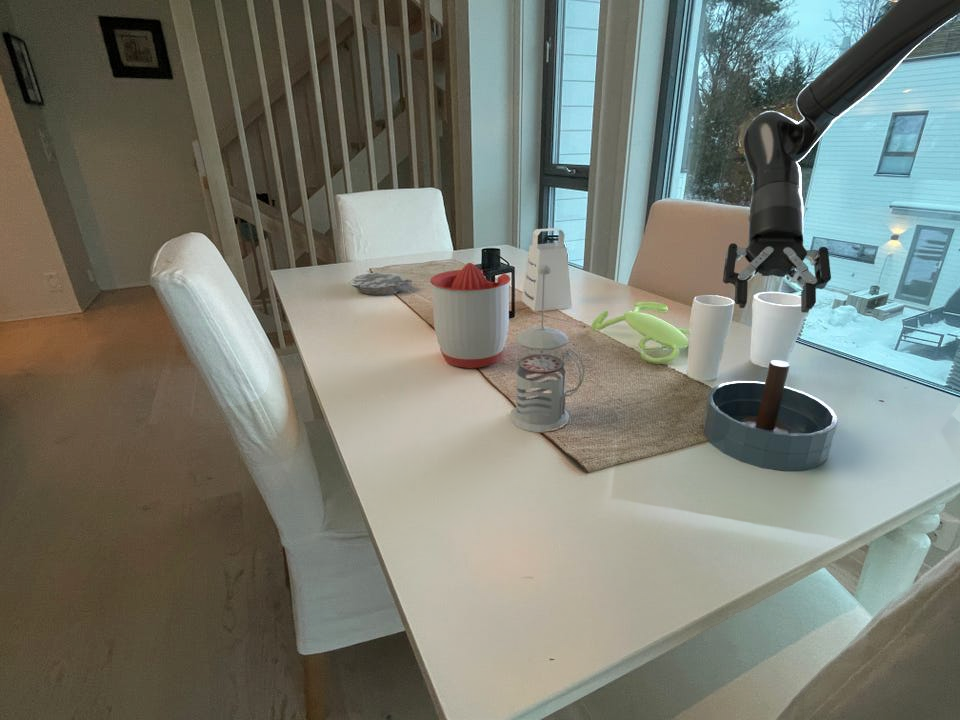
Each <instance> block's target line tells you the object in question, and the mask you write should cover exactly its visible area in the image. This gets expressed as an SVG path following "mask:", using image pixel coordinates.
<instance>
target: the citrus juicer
mask: <svg viewBox="0 0 960 720" xmlns="http://www.w3.org/2000/svg"><path fill="white" fill-rule="evenodd" d="M510 281H511V276H509V275H508V274H506V273H502V274H501V275H500V276H498V277H497V281H496V282H495V281H489V280H488V279H487V278H486V276H485V275H484V272H483V269H479V268H478V266H477V265H475V264H474V263H472V262H467V263H466V264H465V265H464V266H463V267H462V268H461V269H455V270H449V271H448V270H447V271H444V272H440V273H437V274H435V275H433V276H432V277H431V278H430V281H429V282H430V284H431V295H432V296H431V297H432V311H433V312H432V313H433V324H434V332H435V336H436V341H437V343H438V345H439V350H440V353H441V356H442V357H443V359H444V361H445V362H447V363H448V364H450V365H452V366H455V367H459V368H467V369H472V370H473V369H474V370H475V369H479V368H483V367H488V366H490V365H493V364H495V363H497V362H498V361H499V360H500V359H501V357H502V354H503V352H504V350H505V344H506V342H507V338H508V332H509V325H510V324H509V323H510Z"/></svg>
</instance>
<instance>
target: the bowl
mask: <svg viewBox="0 0 960 720" xmlns="http://www.w3.org/2000/svg"><path fill="white" fill-rule="evenodd" d="M764 385H765V382H763V381H753V380H735V381H728V382H724V383H720V384H718V385H716V386H714V387H712V388H711V390H710V391H709V393H708V394H707V397H706V403H705V408H704V415H703V420H702V433H703V435H704V437H705V438H706V440H707V441H708V442H709V443H710V444H711V445H712V446H713V447H715V448H716V449H717V450H718V451H720V452H721V453H723V454H725V455H726V456H729V457H731V458H733V459H735V460H737V461H740V462H741V463H746V464H749V465H751V466H755V467H759V468H762V469H768V470H774V471H780V472H781V471H782V472H783V471H784V472H786V471H787V472H788V471H790V472H792V471H794V472H795V471H797V472H798V471H807V470H811V469H815V468H818V467H820V465H822V464H823V463H824V462H826V461H827V459H828V456H829V453H830V449H831V446H832V444H833V443H832V442H833V439H834V436H835V433H836V429H837V426H838V416H837V414H836V413H835V411H834V410H833V409H832V408H831V407H830V406H829V405H828V404H826V403H825V402H824V401H822V400H821V399H819V398H817V397H815V396H813V395H810V394H809V393H807V392H804V391H802V390H798V389H795V388H792V387H790V386H786V385H785V386H784V391H783V395H782V399H781V403H780V407H779V411H778V415H777V419H776V421H779V422H781V423H782V424H784V425H785V426H786V427H787V428H788V431H789V432H788V433H781V432H773V431H768V430H764V429H760V428H756V427H753V426H749V425H747V424H745V423H742V421H743V419H745V418H747V417H751V416H758V412H759V408H760V403H761V399H762V394H763V390H764Z"/></svg>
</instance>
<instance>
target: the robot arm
mask: <svg viewBox="0 0 960 720" xmlns="http://www.w3.org/2000/svg"><path fill="white" fill-rule="evenodd" d="M958 15H960V0H897V1H896V2H895V3H894V4H893V5H892V7H890V8H889V10H887V12H886V13H885V14H884V15H882V17H881V18H880V19H878V20H877V21H876V23H875V24H874V25H872V27H870V29H869V30H867V31H866V32H865V33H864V34H863V35H862V36H861V37H860V38H859V39H858V40H857V41H855V42H854V43H853V44H852V45H851V46H850V47H849V48H848V49H847V50H846V51H844V52H843V53H842V54H841V55H840V56H839V57H838V58H837V59H835V60H834V61H833V62H832V63H831V64H829V66H827V67H826V68H825V69H824V70H823V71H821V72H820V73H819V74H818V75H817V76H816V77H815V78H814V79H812V81H811V82H809V83H808V84H807V85H806V86H805V87H804V88H803V89H802V90H801V91H800V92H799V94H798V96H797V98H796V107H797V110H798V113H800V115H801V116H802V117H803V119H802V120H800V121H799V122H798V121H796V120H794V119H792V118H790V117H788V116H787V115H785V114H783V113H781V112H778V111H774V110H769V111H768V110H767V111H764V112H761V113H759V114H758V115H757V116H755V117H754V118H753V119H752V120H751V121H750V123H749V124H748V125H747V128H746V129H745V132H744V135H743V141H742V148H743V155H744V158H745V161H746V162H745V163H746V165H747V168H748V172H749V174H750V176H751V179H752V183H751V187H752V188H751V202H750V206H749V215H748V246H747V247H741V246H740V247H739V246H738V245H737V243H735V242H732V243H730V244H728V248H727V250H726V253H725V260H724V268H723V275H722V282H723V283H724V284H725V285H727V284H732V285H733V286H734V304H735V305H738V308H739V309H745V307H746V305H747V304H748V303H747V302H748V287H749V286H748V285H749V284H748V283H749V281H751V280H752V279H753V278H755V277H756V276H757V275H758V274H760V275H761V277H770V276H775V277H779V278H785V277H786V276H787V277H788V279H790V280H791V281H792V282H793V283H796V284H797V285H798V287H800V288H801V292H800V296H801V312H804V313H807V312H808V311H809V312H810V311H811V310H812V309H813V308H814V306H815V304H816V303H817V290H823V289H825V287H826V286H827V284H828V283H829V282H830V281H831V279H832V273H831V263H830V256H829V254H830V253H829V248H827V247H826V246H821V247H819V248H818V249H812V250H811V249H810V250H809V249H807V248H806V247H805V245H804V200H803V195H802V171H801V166H800V165H799V163H798V162H800V161H801V160H803V159H804V158H805V157H806V156H807V155H808V153H810V151H811V150H812V148H813V147H814V146H815V145H816V144H817V142H818V141H819V140H820V138H821V137H822V136H823V135H824V134H825V133H826V131H828V129H830V127H831V126H832V124H833V123H834V122H835V121H836V120H837V119H839V118H840V117H841V116H843V115H844V114H845V113H847V112H848V111H849V110H850V109H851V108H853V107H854V106H855V105H857V104H858V103H859V102H861V101H862V100H863V99H864V98H866V97H867V96H868V95H869V94H871V92H872V91H874V90H875V89H876V88H877V87H878V86H880V84H882V83H883V82H884V81H885V80H886V79H887V77H889V76H890V75H891V74H892V72H893V71H895V69H896V68H897V67H898V66H899V65H900V64H901V63H902V62H903V60H905V58H907V56H909V54H911V52H912V51H913V50H914V49H915V48H917V47H918V46H919V45H920V44H921V43H922V42H924V41H925V40H926V39H927V38H928V37H929V36H931V35H933V33H935V32H936V31H937V30H938V29H940V28H941V27H942V26H944V25H945V24H947V23H948V22H949V21H951V20H952V19H955V17H957V16H958ZM742 257H744V258H745V260H746V261H747V262H748V263H749V264H747V266H746V267H745V268H744V269H743V270H742V271H741V272H740V273H738V272H735V269H736V262H739V261H740V260H741V258H742ZM805 259H806V260H808V261H809V263H810V265H811V266H813V268H814V274H813V273H812V272H811V271H810V270H809V266H808V265H807V264H806V263H805V262H804V260H805Z"/></svg>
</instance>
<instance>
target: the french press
mask: <svg viewBox="0 0 960 720" xmlns="http://www.w3.org/2000/svg"><path fill="white" fill-rule="evenodd" d="M537 267H538V266H537ZM550 271H551V270H550V268H549V267H548V266H547V265H541V266H540V267H538V274H543V295H542V311H541V325H540V326H532V327H529V328H527V329H525V330H522V331H521V332H519V333H517V334H516V336H515V337H514V339H515V341H516V343H517V345H518V346H520V347H521V348H524V349H528V350H531V351H540V353H532V354H527V355H524V356H522V357H521V358H519V359H518V362H517V363H518V365H519V366H517V368H516V381H515V382H516V385H515V387H516V392H515V403H516V404H515V407H514V408H513V409H511V411H510V414H509V419H510V422H511V423H512V424H513V425H514V426H516V428H519V429H522V430H525V431H527V432H532V433H539V434H540V433H544V432H543V431H546V430H548V429H549V430H551V429H555V428H558V427H560V426H562V425H563V424H565V423H567V422H568V418H569V417H570V414H569V413H568V411H567V410H566V398H567V397H569V396H573V394H575V393H576V392H577V391H578V390H579V388H580V387H581V385H582V384H583V381H584V379H585V377H584V376H585V370H586V369H585V365H584V362H583V360H582V358H581V356H580V355H578V354H577V352H575V351H574V350H573V349H571V348H567V349H566V350H565V352H564V353H562V358H560V357H558V356H557V355H553V354H546V353H543V352H545V351H546V352H547V351H554V350H559V349H561V348H563V347H565V346H567V344H568V341H569V339H570V338H569V337H568V336H567V334H566V333H564V332H563V331H561V330H560V329H557V328H552V327H549V326H545V325H544V311H543V309H544V278H545V274H550ZM569 352H571V353H573V354H574V355H575V356H576V357H577V359H578V360H579V362H580V364H579V363H578V361H577V359H575V358H574V357H573V356H572V355H571V354H570V353H569ZM568 357H569V358H570V359H572V361H573V362H574V363H575V364H576V366H577V369H578V373H579V377H578V383H577V386H576V387H574V388H573V389H569V390H566V380H567V379H566V376H567V371H566V369H565V368H564V366H565V361H566V360H567V359H568ZM580 365H581V368H582V371H581V368H580ZM557 372H558V373H559V374H560V375H561V376H562V377H561V376H560V375H559V374H557ZM535 374H537V375H538V376H533V377H527V376H529V375H535ZM549 377H553V378H555V379H544V378H549ZM542 379H544V380H542ZM539 380H542V381H539ZM530 389H536V390H531V391H527V390H530ZM546 391H551V392H548V393H547V392H546Z"/></svg>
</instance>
